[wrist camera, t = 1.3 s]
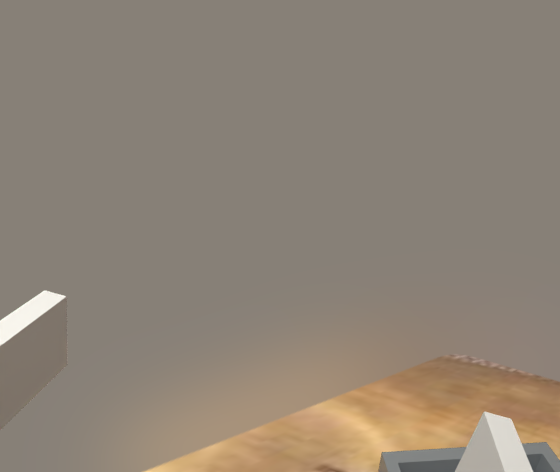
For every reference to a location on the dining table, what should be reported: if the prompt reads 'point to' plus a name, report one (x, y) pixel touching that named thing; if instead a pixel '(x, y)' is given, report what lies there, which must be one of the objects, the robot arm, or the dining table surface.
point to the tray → (443, 462)
